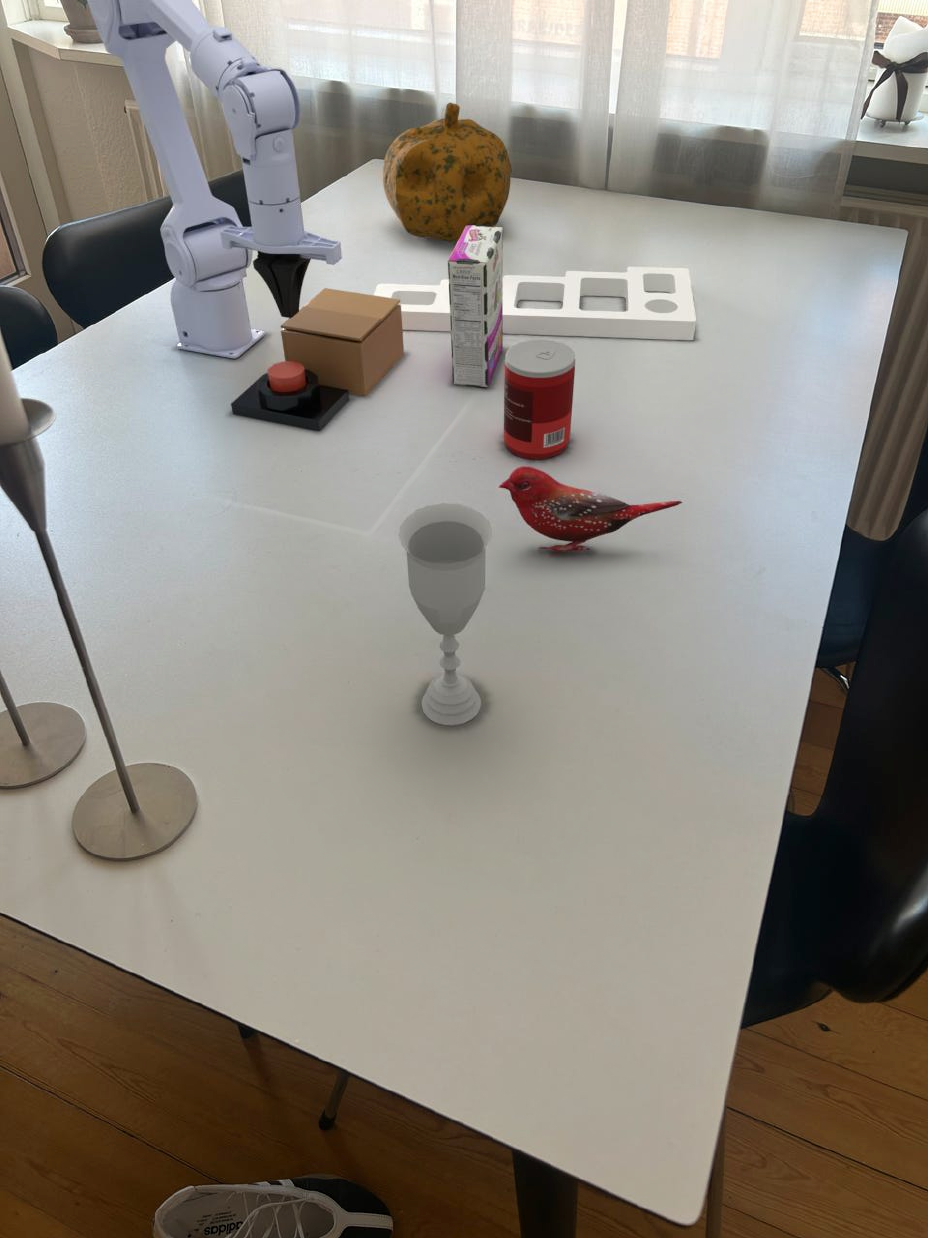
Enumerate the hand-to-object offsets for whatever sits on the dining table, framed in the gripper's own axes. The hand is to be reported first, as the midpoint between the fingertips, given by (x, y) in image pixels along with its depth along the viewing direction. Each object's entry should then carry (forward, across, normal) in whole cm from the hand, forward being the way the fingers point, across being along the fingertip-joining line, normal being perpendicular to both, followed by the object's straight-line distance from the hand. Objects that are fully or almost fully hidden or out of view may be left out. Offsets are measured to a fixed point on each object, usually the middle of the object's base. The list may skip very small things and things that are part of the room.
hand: (290, 314), depth 115 cm
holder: (+10, -20, -34) cm, 40 cm away
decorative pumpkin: (+11, +4, -58) cm, 59 cm away
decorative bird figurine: (+10, -43, +19) cm, 48 cm away
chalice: (+10, -38, +43) cm, 58 cm away
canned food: (+10, -32, +1) cm, 33 cm away
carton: (+10, -3, -8) cm, 13 cm away
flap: (+3, -3, -11) cm, 11 cm away
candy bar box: (+10, -19, -14) cm, 26 cm away
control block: (+10, -1, +4) cm, 11 cm away
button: (+7, -1, +4) cm, 8 cm away
